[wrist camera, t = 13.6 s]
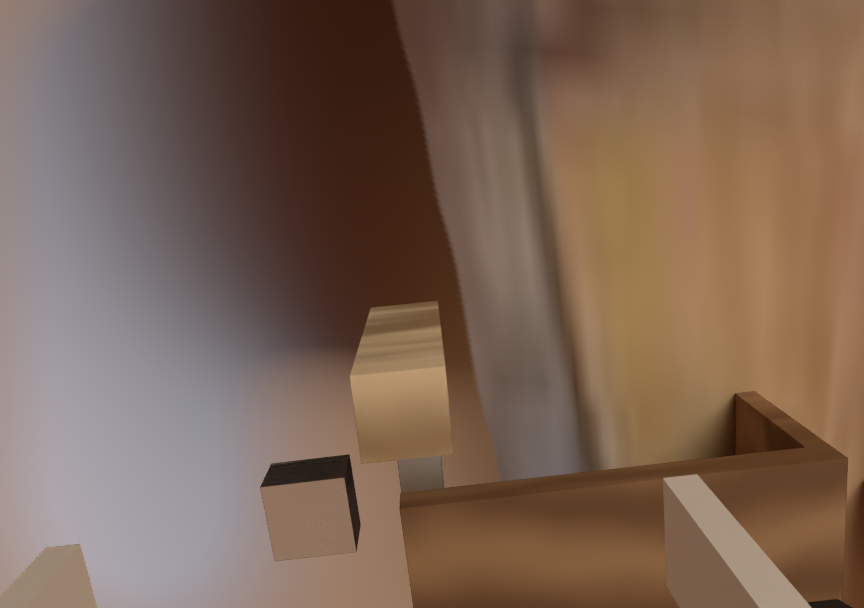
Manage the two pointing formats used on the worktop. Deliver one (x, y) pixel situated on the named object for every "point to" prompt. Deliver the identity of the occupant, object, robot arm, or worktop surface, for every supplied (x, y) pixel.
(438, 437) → the tan wood-grain block
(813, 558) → the brown wooden stand
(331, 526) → the brown square block
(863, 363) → the worktop surface
